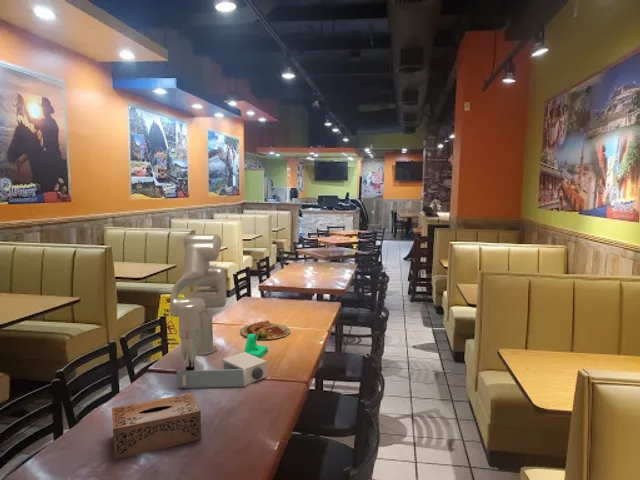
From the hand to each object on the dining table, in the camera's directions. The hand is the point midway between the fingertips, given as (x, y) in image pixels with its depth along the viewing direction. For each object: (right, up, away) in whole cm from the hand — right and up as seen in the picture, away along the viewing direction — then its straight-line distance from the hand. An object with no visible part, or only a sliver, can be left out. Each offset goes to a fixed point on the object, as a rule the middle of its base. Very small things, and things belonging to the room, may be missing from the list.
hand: (190, 375), depth 188 cm
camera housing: (+21, -3, +10) cm, 23 cm away
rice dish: (+23, +3, +68) cm, 72 cm away
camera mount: (+23, 0, +35) cm, 42 cm away
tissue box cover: (0, -9, -39) cm, 40 cm away
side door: (+9, -4, -2) cm, 10 cm away
